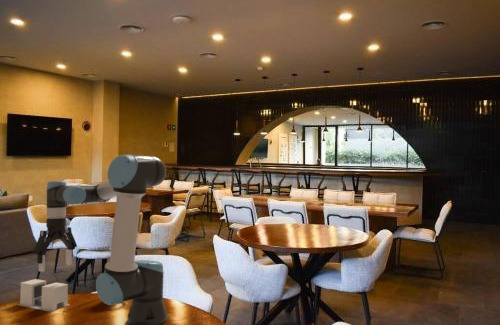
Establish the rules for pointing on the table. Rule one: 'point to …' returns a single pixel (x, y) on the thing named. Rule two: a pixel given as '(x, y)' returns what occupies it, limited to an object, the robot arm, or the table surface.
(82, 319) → the table surface
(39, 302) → the board
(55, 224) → the robot arm
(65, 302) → the jaw block
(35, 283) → the fixed jaw
